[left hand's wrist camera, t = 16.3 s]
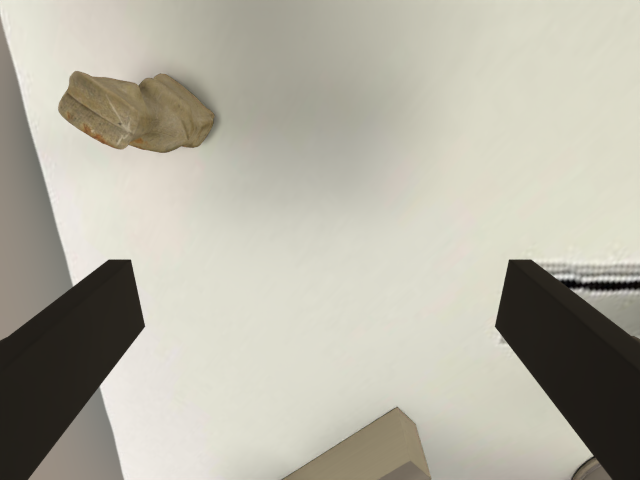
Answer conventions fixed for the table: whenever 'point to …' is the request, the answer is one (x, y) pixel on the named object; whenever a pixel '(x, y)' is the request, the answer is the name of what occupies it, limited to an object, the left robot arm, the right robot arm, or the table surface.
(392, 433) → the bar
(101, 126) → the sculpture
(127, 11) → the table surface
